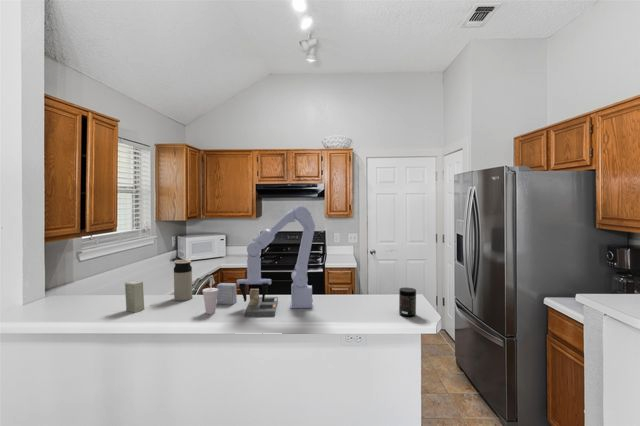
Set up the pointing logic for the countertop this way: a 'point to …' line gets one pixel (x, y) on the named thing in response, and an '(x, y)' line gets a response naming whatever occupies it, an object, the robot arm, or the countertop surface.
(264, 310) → the dock
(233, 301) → the medicine box
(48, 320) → the countertop surface
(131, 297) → the skincare box
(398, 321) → the countertop surface
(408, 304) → the supplement container
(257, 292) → the tan rectangular block
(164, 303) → the countertop surface
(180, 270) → the travel mug
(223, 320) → the countertop surface
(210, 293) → the smoothie
